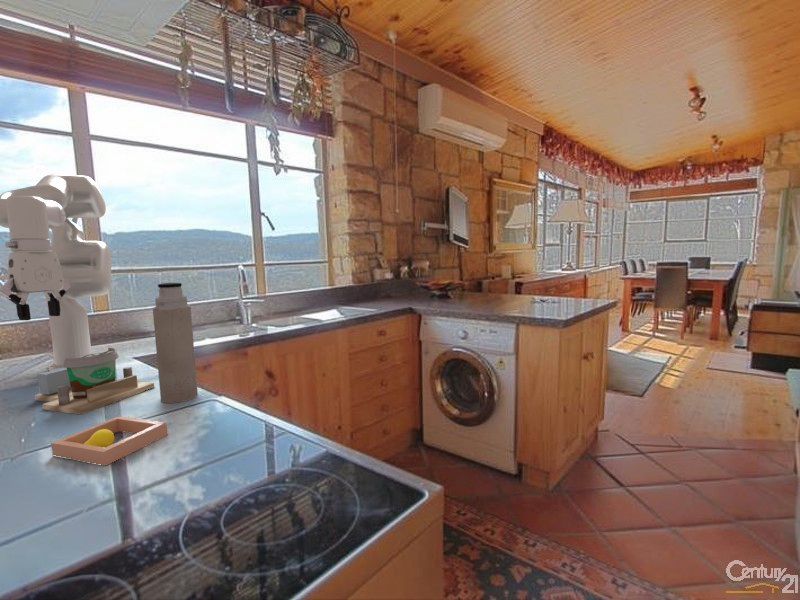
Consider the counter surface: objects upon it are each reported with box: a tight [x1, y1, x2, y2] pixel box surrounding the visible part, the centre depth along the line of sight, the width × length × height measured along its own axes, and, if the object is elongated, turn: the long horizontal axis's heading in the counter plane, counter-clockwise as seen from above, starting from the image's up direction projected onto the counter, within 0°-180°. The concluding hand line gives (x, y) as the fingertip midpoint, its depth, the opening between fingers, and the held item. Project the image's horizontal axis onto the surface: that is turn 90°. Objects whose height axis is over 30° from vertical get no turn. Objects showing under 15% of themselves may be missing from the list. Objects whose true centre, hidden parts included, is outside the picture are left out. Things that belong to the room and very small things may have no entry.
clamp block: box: [37, 368, 71, 395], centre depth 107 cm, size 3×10×5 cm, turn 162°
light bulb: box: [84, 429, 115, 448], centre depth 75 cm, size 3×6×4 cm, turn 136°
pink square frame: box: [50, 415, 169, 466], centre depth 77 cm, size 12×12×2 cm
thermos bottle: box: [152, 282, 199, 404], centre depth 101 cm, size 8×8×28 cm
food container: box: [63, 347, 119, 399], centre depth 103 cm, size 12×6×10 cm, turn 167°
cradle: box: [34, 366, 155, 415], centre depth 104 cm, size 21×19×5 cm
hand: (40, 317), depth 107 cm, fingers open, 6 cm apart
